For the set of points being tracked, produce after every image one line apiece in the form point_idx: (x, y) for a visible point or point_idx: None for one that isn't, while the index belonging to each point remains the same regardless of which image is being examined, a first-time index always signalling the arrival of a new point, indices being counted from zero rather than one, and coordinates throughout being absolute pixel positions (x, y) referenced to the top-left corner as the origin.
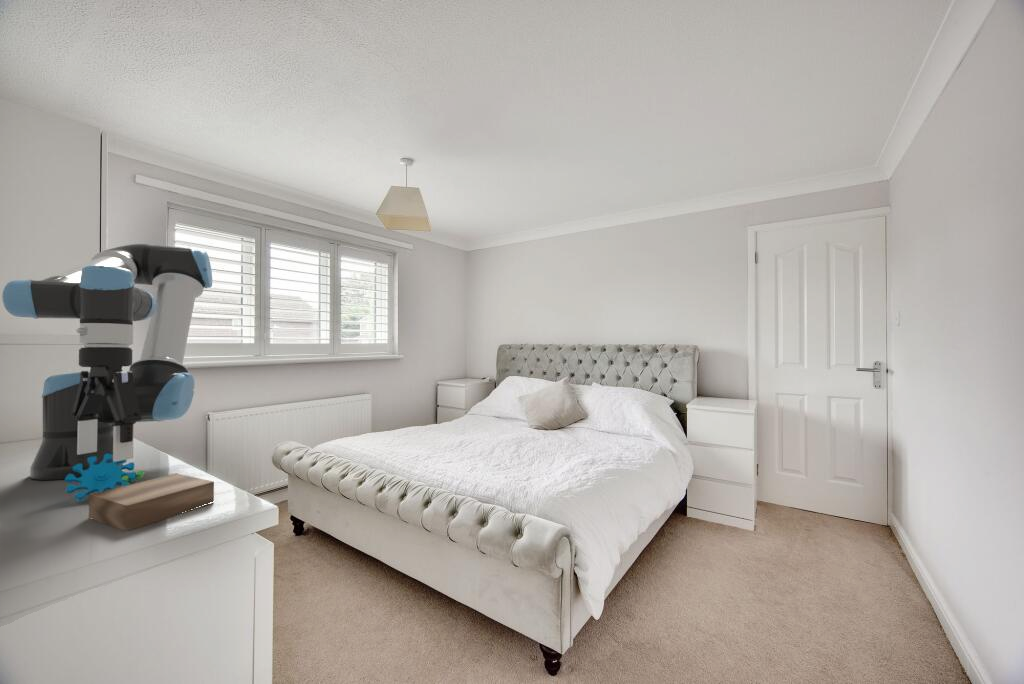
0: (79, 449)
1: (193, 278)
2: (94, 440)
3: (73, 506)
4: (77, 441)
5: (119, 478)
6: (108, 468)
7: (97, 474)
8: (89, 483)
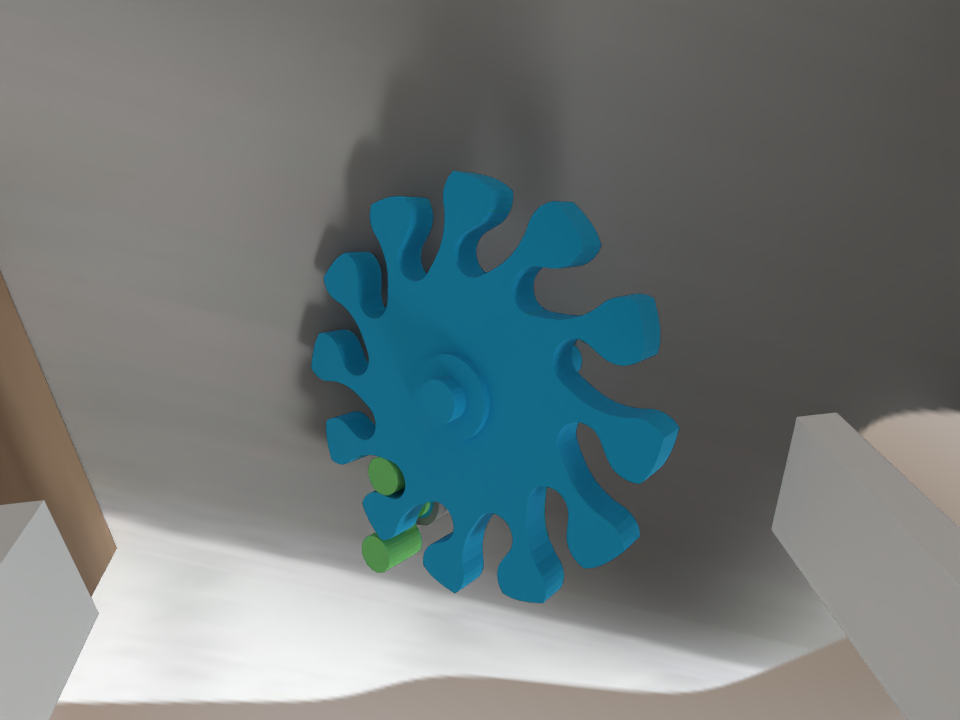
0: (830, 453)
1: None
2: (844, 610)
3: (366, 161)
4: (931, 506)
5: (392, 452)
6: (486, 463)
7: (468, 383)
8: (440, 307)
